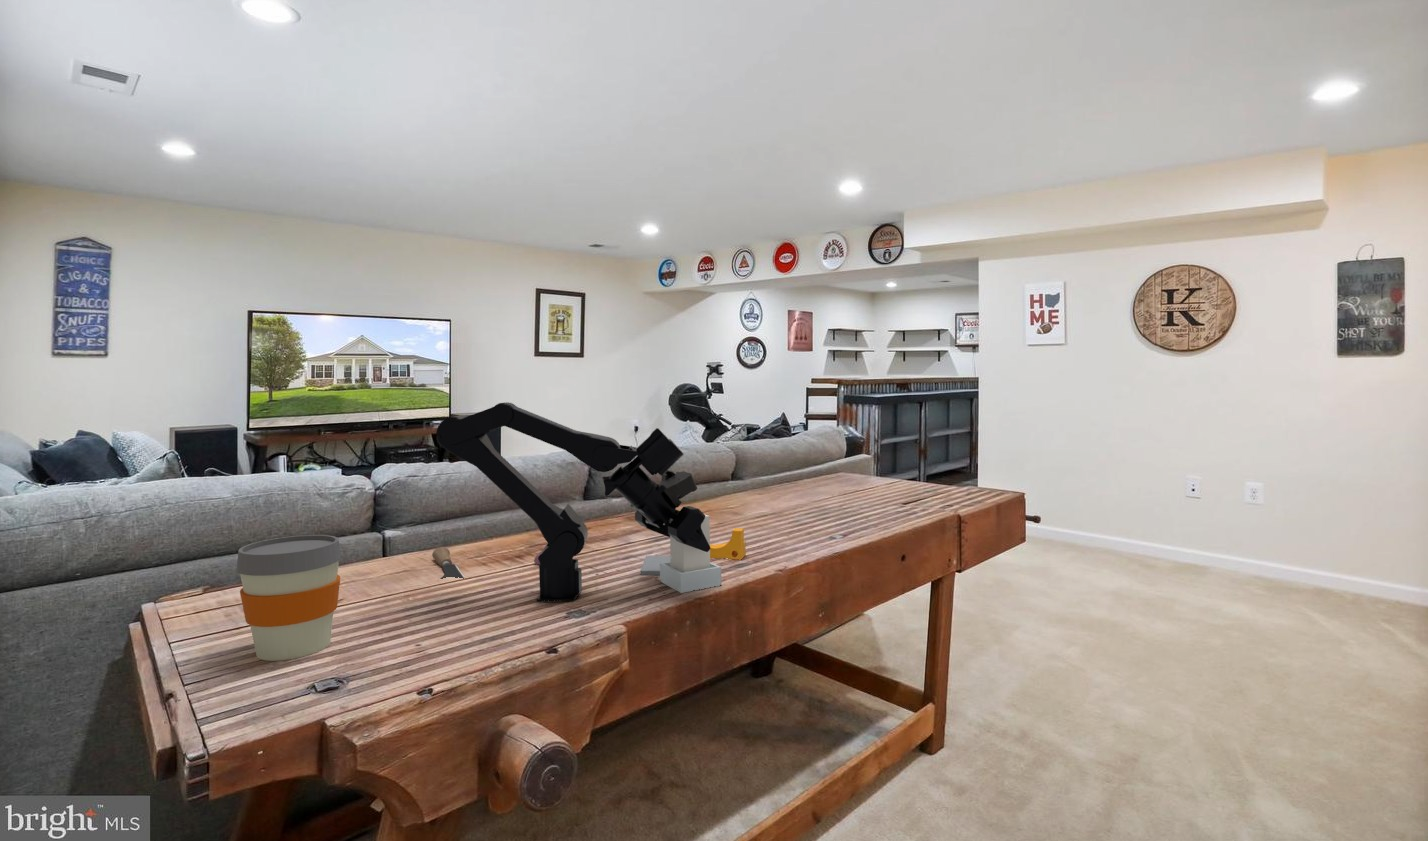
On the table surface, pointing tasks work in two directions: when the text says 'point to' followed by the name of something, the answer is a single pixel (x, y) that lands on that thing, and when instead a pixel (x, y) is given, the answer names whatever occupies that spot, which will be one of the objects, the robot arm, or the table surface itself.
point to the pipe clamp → (730, 546)
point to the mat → (653, 564)
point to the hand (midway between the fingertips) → (696, 545)
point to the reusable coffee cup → (290, 594)
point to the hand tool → (446, 563)
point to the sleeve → (690, 578)
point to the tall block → (690, 553)
